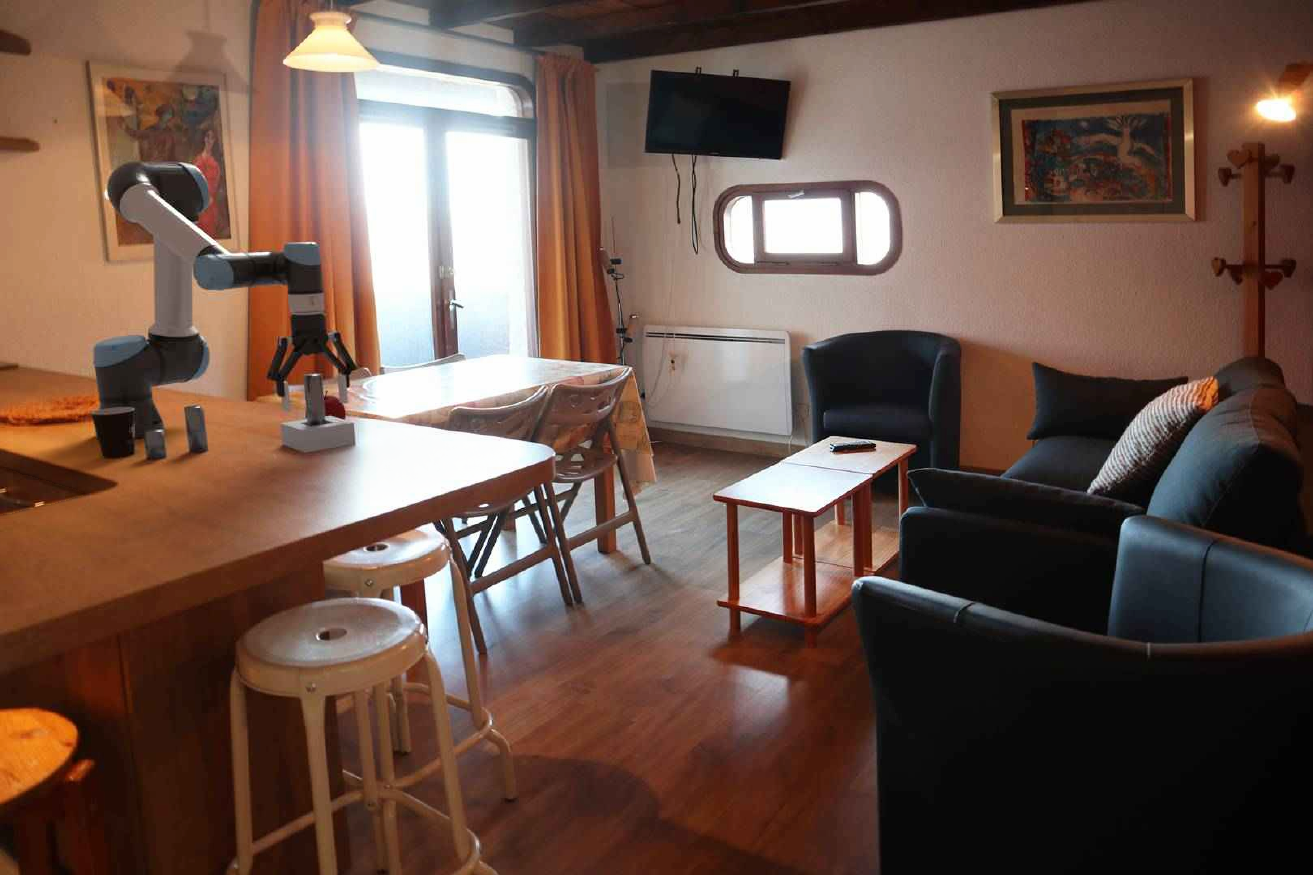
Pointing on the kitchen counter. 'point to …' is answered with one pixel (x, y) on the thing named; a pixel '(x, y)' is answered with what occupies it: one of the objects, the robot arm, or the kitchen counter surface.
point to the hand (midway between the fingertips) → (315, 406)
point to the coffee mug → (115, 431)
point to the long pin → (314, 399)
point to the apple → (333, 407)
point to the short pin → (155, 444)
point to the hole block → (318, 434)
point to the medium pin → (196, 429)
